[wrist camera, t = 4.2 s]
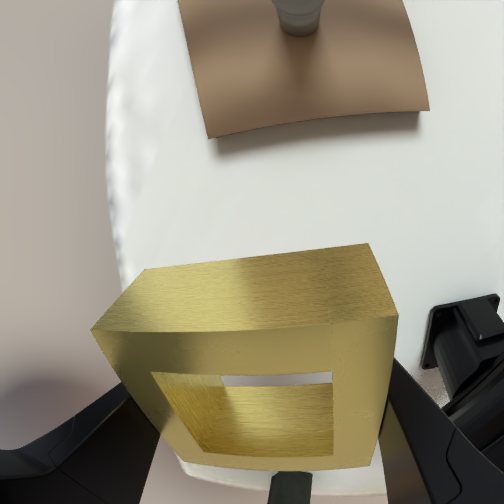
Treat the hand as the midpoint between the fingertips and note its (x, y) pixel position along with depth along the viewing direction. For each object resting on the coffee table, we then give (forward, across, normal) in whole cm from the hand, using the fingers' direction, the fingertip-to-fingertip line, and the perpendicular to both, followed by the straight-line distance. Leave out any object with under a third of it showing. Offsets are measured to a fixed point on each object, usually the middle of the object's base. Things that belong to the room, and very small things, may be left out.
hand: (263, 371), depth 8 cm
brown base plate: (+11, -3, -12) cm, 16 cm away
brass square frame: (+1, 0, 0) cm, 1 cm away
